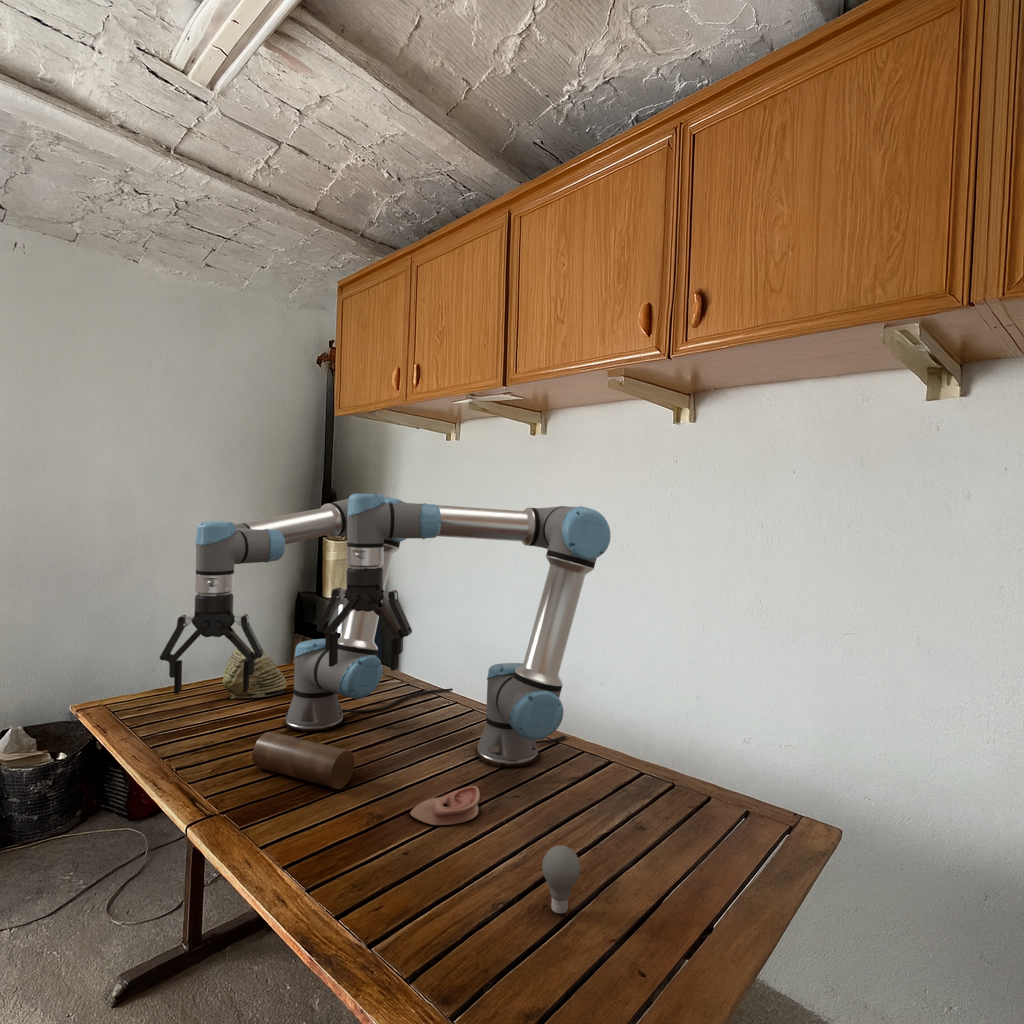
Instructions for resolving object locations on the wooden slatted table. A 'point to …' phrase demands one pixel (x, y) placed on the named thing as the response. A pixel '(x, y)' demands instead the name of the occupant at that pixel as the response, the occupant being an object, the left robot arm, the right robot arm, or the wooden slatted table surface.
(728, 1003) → the wooden slatted table surface
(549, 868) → the light bulb
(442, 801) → the anatomical model
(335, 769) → the brown wooden cylinder
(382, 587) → the right robot arm
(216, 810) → the wooden slatted table surface
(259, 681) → the fossil
